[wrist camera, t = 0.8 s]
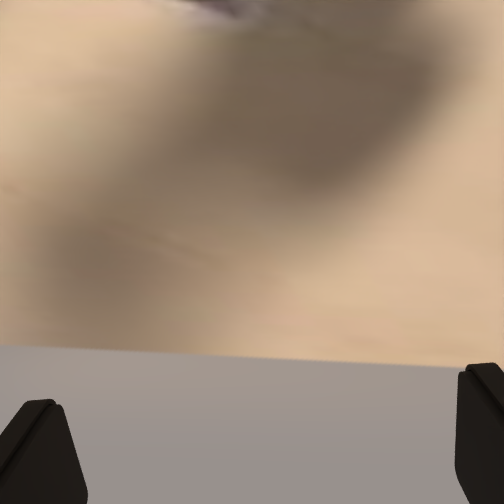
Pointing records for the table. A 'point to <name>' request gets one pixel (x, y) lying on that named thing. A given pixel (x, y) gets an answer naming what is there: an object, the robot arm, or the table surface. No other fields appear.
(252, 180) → the table surface
